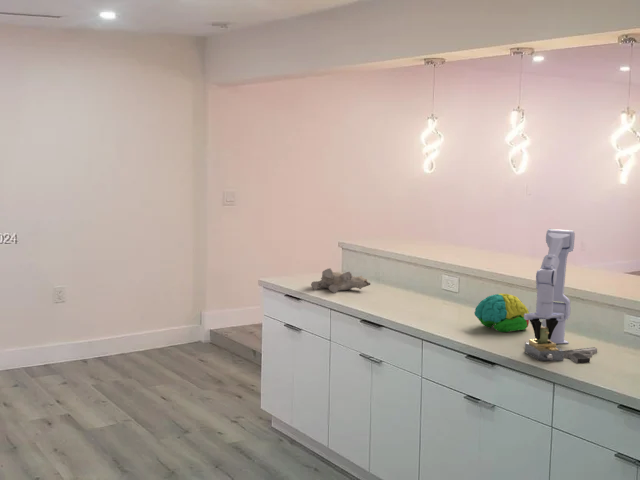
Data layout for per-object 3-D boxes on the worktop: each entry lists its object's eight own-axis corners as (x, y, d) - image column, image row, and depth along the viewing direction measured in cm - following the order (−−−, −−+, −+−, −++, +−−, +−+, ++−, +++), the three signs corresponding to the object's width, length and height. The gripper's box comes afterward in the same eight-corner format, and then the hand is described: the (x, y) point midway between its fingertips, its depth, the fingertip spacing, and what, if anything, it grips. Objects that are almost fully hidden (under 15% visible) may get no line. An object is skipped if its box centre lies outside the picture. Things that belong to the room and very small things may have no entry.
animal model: (349, 260, 373) (366, 258, 387) (306, 275, 388) (324, 273, 402) (357, 287, 371) (374, 285, 385) (313, 302, 386) (331, 299, 400)
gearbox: (524, 351, 274) (525, 338, 274) (547, 351, 276) (548, 338, 275) (542, 362, 260) (543, 349, 259) (566, 362, 262) (567, 348, 261)
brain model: (492, 335, 296) (496, 298, 295) (464, 325, 313) (467, 290, 312) (538, 333, 306) (542, 297, 305) (508, 323, 323) (511, 289, 322)
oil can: (534, 342, 271) (535, 326, 271) (544, 341, 272) (545, 325, 272) (542, 345, 266) (543, 329, 266) (552, 345, 267) (553, 329, 267)
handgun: (616, 360, 267) (592, 352, 278) (617, 355, 267) (593, 346, 278) (577, 365, 260) (555, 356, 271) (578, 359, 260) (555, 350, 271)
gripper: (530, 304, 263) (528, 342, 265) (568, 304, 265) (566, 341, 267) (522, 300, 270) (520, 337, 272) (559, 300, 272) (557, 336, 274)
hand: (542, 338), depth 270 cm, fingers closed on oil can, 4 cm apart
